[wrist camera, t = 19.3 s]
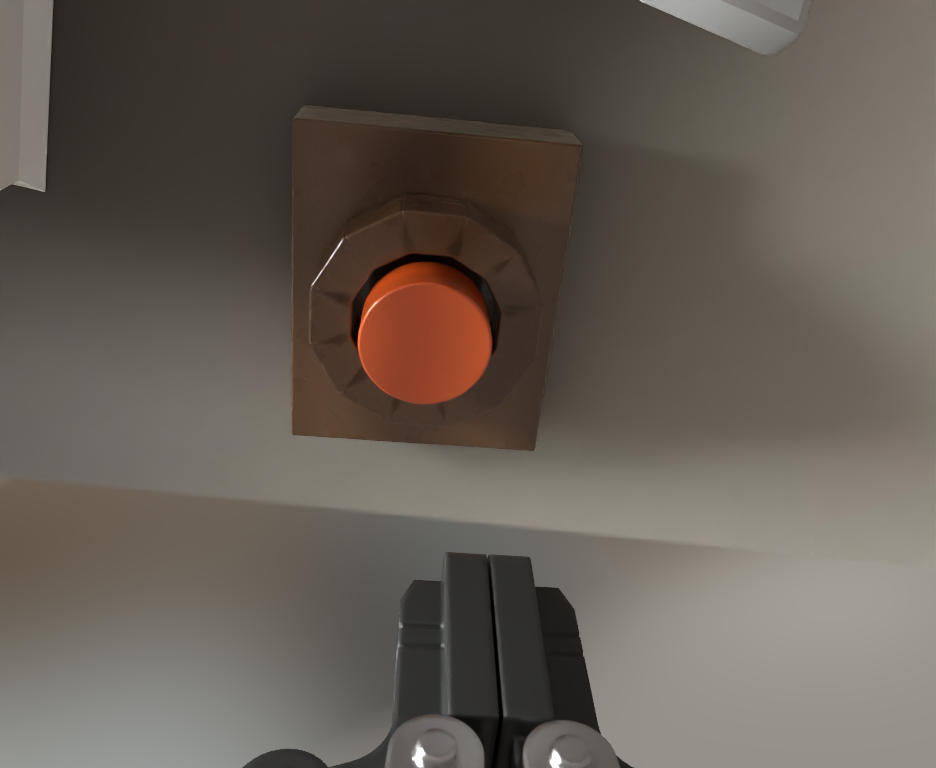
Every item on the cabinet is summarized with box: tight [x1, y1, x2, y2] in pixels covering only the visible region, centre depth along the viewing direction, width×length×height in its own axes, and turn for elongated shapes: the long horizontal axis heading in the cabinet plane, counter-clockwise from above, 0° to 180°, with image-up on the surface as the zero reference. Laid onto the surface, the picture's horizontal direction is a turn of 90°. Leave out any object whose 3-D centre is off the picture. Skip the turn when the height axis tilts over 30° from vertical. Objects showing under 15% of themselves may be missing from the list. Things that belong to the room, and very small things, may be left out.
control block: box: [291, 105, 583, 451], centre depth 25 cm, size 8×10×4 cm
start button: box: [358, 262, 492, 404], centre depth 23 cm, size 4×4×2 cm
